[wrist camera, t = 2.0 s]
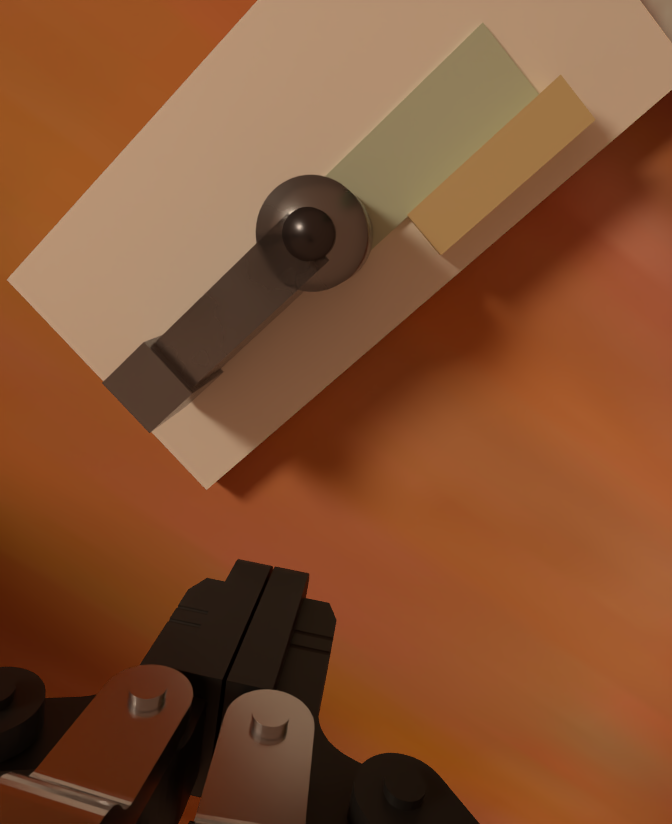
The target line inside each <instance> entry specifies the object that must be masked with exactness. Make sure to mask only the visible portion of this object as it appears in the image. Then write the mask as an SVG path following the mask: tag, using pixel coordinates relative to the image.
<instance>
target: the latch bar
mask: <svg viewBox="0 0 672 824" xmlns="http://www.w3.org/2000/svg"><path fill="white" fill-rule="evenodd" d="M372 243H373V227H372V222H371V218H370V216H369V213H368V211H367V209H366V208H365V206H364V205H363V203H362V202H361V201H360V200H359V199H358V198H357V197H356V196H355V195H354V194H353V193H352V192H351V191H350V190H348V189H347V188H346V187H345V186H343V185H342V184H341V183H339V182H337V181H336V180H333V179H331V178H329V177H325V176H321V175H301V176H297V177H294V178H291V179H289V180H287V181H285V182H283V183H281V184H280V185H278V186H277V187H276V188H275V189H274V190H273V191H272V192H271V193H270V194H269V195H268V197H267V198H266V200H265V201H264V203H263V205H262V207H261V209H260V211H259V214H258V218H257V222H256V244H255V245H254V246H253V247H252V248H251V249H250V250H249V251H248V252H247V253H246V254H245V255H244V256H243V257H242V258H241V259H240V260H239V261H238V262H237V263H236V264H235V265H234V266H233V267H232V268H231V269H230V270H228V271H227V272H226V273H225V274H224V275H223V276H222V277H221V278H220V279H219V280H218V281H217V282H216V283H215V284H214V285H213V286H212V287H211V288H210V289H209V290H208V291H207V292H206V293H205V294H204V295H203V296H202V297H201V298H200V299H199V300H198V301H197V302H196V303H195V304H194V305H193V306H192V307H191V308H190V309H189V310H188V311H187V312H185V313H184V314H183V315H182V316H181V317H180V318H179V319H178V320H177V321H176V322H175V323H174V324H173V325H172V326H171V327H170V328H169V329H168V330H167V331H166V332H165V333H164V334H163V335H161V336H158V337H156V338H153V339H150V340H147V341H145V342H143V343H142V344H141V345H140V346H139V347H138V348H137V349H136V350H135V351H134V352H133V353H132V354H131V355H130V356H129V357H128V358H127V359H126V360H125V361H124V362H123V363H122V364H121V365H120V366H119V367H118V368H117V369H116V370H115V371H114V372H113V373H112V374H111V375H110V376H109V377H107V378H106V379H105V380H104V381H103V382H102V383H103V384H104V386H105V387H106V388H107V389H108V390H109V391H110V392H111V393H112V394H113V395H114V396H115V397H116V398H117V399H118V400H119V401H120V402H121V403H122V404H123V405H124V407H125V408H126V409H127V410H128V411H129V412H130V413H131V414H132V415H133V416H134V417H135V418H136V419H137V420H138V421H139V422H140V423H141V424H142V425H143V427H144V428H145V429H146V430H147V431H148V432H149V433H150V432H152V431H153V430H154V429H156V428H157V427H159V426H160V425H161V424H163V423H164V422H165V421H167V420H168V419H170V418H171V417H172V416H174V415H175V414H176V413H178V412H179V411H181V410H182V409H183V408H185V407H186V406H187V405H188V404H190V403H191V402H192V401H193V400H194V399H195V398H196V397H197V396H198V395H199V394H200V393H201V392H203V391H204V390H205V389H206V388H207V387H208V386H209V385H210V384H211V383H212V382H213V381H214V380H216V379H217V378H218V377H219V376H220V375H221V374H222V373H223V371H222V370H221V368H222V367H223V366H224V365H225V364H226V363H227V362H228V361H229V360H230V359H232V358H233V357H234V356H235V355H236V354H237V353H238V352H239V351H240V350H241V349H242V348H243V347H245V346H246V345H247V344H248V343H249V342H250V341H251V340H252V339H253V338H254V337H255V336H256V335H258V334H259V333H260V332H261V331H262V330H263V329H264V328H265V327H266V326H267V325H268V324H269V323H271V322H272V321H273V320H274V319H275V318H276V317H277V316H278V315H279V314H280V313H281V312H282V311H284V310H285V309H286V308H287V307H288V306H289V305H290V304H291V303H292V302H293V301H294V300H295V299H297V298H298V297H299V296H300V295H301V294H302V293H303V292H304V291H306V292H318V291H324V290H327V289H330V288H333V287H335V286H337V285H339V284H341V283H342V282H344V281H346V280H348V279H349V278H351V277H352V276H354V275H355V274H356V273H357V272H358V271H359V270H360V269H361V268H362V266H363V265H364V264H365V262H366V260H367V259H368V256H369V254H370V251H371V248H372Z"/></svg>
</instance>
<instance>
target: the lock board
mask: <svg viewBox="0 0 672 824" xmlns="http://www.w3.org/2000/svg"><path fill="white" fill-rule="evenodd" d="M671 90H672V43H671V41H670V40H669V38H668V37H667V36H666V34H665V33H664V32H663V30H662V29H661V28H660V26H659V25H658V24H657V22H656V21H655V20H654V18H653V17H652V16H651V14H650V13H649V12H648V10H647V9H646V7H645V6H644V5H643V3H642V2H641V1H640V0H257V2H256V3H255V4H254V5H253V6H252V7H251V8H250V9H249V10H248V12H247V13H246V14H245V15H244V16H243V17H242V18H241V19H240V21H239V22H238V23H237V24H236V25H235V26H234V27H233V28H232V29H231V31H230V32H229V33H228V34H227V35H226V36H225V37H224V38H223V39H222V41H221V42H220V43H219V44H218V45H217V46H216V47H215V48H214V49H213V51H212V52H211V53H210V54H209V55H208V56H207V57H206V58H205V60H204V61H203V62H202V63H201V64H200V65H199V66H198V67H197V68H196V70H195V71H194V72H193V73H192V74H191V75H190V76H189V77H188V78H187V80H186V81H185V82H184V83H183V84H182V85H181V86H180V87H179V88H178V90H177V91H176V92H175V93H174V94H173V95H172V96H171V97H170V99H169V100H168V101H167V102H166V103H165V104H164V105H163V106H162V107H161V109H160V110H159V111H158V112H157V113H156V114H155V115H154V116H153V117H152V119H151V120H150V121H149V122H148V123H147V124H146V125H145V126H144V127H143V129H142V130H141V131H140V132H139V133H138V134H137V135H136V136H135V138H134V139H133V140H132V141H131V142H130V143H129V144H128V145H127V146H126V148H125V149H124V150H123V151H122V152H121V153H120V154H119V155H118V156H117V158H116V159H115V160H114V161H113V162H112V163H111V164H110V165H109V167H108V168H107V169H106V170H105V171H104V172H103V173H102V174H101V175H100V177H99V178H98V179H97V180H96V181H95V182H94V183H93V184H92V185H91V187H90V188H89V189H88V190H87V191H86V192H85V193H84V194H83V195H82V197H81V198H80V199H79V200H78V201H77V202H76V203H75V204H74V206H73V207H72V208H71V209H70V210H69V211H68V212H67V213H66V214H65V216H64V217H63V218H62V219H61V220H60V221H59V222H58V223H57V224H56V226H55V227H54V228H53V229H52V230H51V231H50V232H49V233H48V234H47V236H46V237H45V238H44V239H43V240H42V241H41V242H40V243H39V245H38V246H37V247H36V248H35V249H34V250H33V251H32V252H31V253H30V255H29V256H28V257H27V258H26V259H25V260H24V261H23V262H22V263H21V265H20V266H19V267H18V268H17V269H16V270H15V271H14V272H13V273H12V275H11V276H10V277H9V278H8V279H7V280H8V281H9V282H10V284H11V285H12V286H13V287H14V288H15V289H16V290H17V291H18V292H19V293H20V294H21V295H22V296H23V297H24V298H25V299H26V300H27V301H28V302H29V304H30V305H31V306H32V307H33V308H34V309H35V310H36V311H37V312H38V313H39V314H40V315H41V316H42V317H43V318H44V319H45V320H46V321H47V322H48V324H49V325H50V326H51V327H52V328H53V329H54V330H55V331H56V332H57V333H58V334H59V335H60V336H61V337H62V338H63V339H64V340H65V341H66V342H67V344H68V345H69V346H70V347H71V348H72V349H73V350H74V351H75V352H76V353H77V354H78V355H79V356H80V357H81V358H82V359H83V360H84V361H85V362H86V364H87V365H88V366H89V367H90V368H91V369H92V370H93V371H94V372H95V373H96V374H97V375H98V376H99V377H100V378H101V379H102V380H103V381H104V380H105V379H106V378H107V377H109V376H110V375H111V374H112V373H113V372H114V371H115V370H116V369H117V368H118V367H119V366H120V365H121V364H122V363H123V362H124V361H125V360H126V359H127V358H128V357H129V356H130V355H131V354H132V353H133V352H134V351H135V350H136V349H137V348H138V347H139V346H140V345H141V344H142V343H143V342H145V341H147V340H150V339H153V338H156V337H158V336H161V335H163V334H164V333H165V332H166V331H167V330H168V329H169V328H170V327H171V326H172V325H173V324H174V323H175V322H176V321H177V320H178V319H179V318H180V317H181V316H182V315H183V314H184V313H185V312H187V311H188V310H189V309H190V308H191V307H192V306H193V305H194V304H195V303H196V302H197V301H198V300H199V299H200V298H201V297H202V296H203V295H204V294H205V293H206V292H207V291H208V290H209V289H210V288H211V287H212V286H213V285H214V284H215V283H216V282H217V281H218V280H219V279H220V278H221V277H222V276H223V275H224V274H225V273H226V272H227V271H228V270H230V269H231V268H232V267H233V266H234V265H235V264H236V263H237V262H238V261H239V260H240V259H241V258H242V257H243V256H244V255H245V254H246V253H247V252H248V251H249V250H250V249H251V248H252V247H253V246H254V245H255V244H256V222H257V218H258V214H259V211H260V209H261V207H262V205H263V203H264V201H265V200H266V198H267V197H268V195H269V194H270V193H271V192H272V191H273V190H274V189H275V188H276V187H277V186H278V185H280V184H281V183H283V182H285V181H287V180H289V179H291V178H294V177H297V176H301V175H321V176H325V177H329V178H331V179H333V180H336V181H337V182H339V183H341V184H342V185H343V186H345V187H346V188H347V189H348V190H350V191H351V192H352V193H353V194H354V195H355V196H356V197H357V198H358V199H359V200H360V201H361V202H362V203H363V205H364V206H365V208H366V209H367V211H368V213H369V216H370V218H371V222H372V227H373V243H372V248H371V251H370V254H369V256H368V259H367V260H366V262H365V264H364V265H363V266H362V268H361V269H360V270H359V271H358V272H357V273H356V274H355V275H354V276H352V277H351V278H349V279H348V280H346V281H344V282H342V283H341V284H339V285H337V286H335V287H333V288H330V289H327V290H324V291H318V292H306V291H304V292H303V293H302V294H301V295H300V296H299V297H298V298H297V299H295V300H294V301H293V302H292V303H291V304H290V305H289V306H288V307H287V308H286V309H285V310H284V311H282V312H281V313H280V314H279V315H278V316H277V317H276V318H275V319H274V320H273V321H272V322H271V323H269V324H268V325H267V326H266V327H265V328H264V329H263V330H262V331H261V332H260V333H259V334H258V335H256V336H255V337H254V338H253V339H252V340H251V341H250V342H249V343H248V344H247V345H246V346H245V347H243V348H242V349H241V350H240V351H239V352H238V353H237V354H236V355H235V356H234V357H233V358H232V359H230V360H229V361H228V362H227V363H226V364H225V365H224V366H223V367H222V368H221V370H222V371H223V373H222V374H221V375H220V376H219V377H218V378H217V379H216V380H214V381H213V382H212V383H211V384H210V385H209V386H208V387H207V388H206V389H205V390H204V391H203V392H201V393H200V394H199V395H198V396H197V397H196V398H195V399H194V400H193V401H192V402H191V403H190V404H188V405H187V406H186V407H185V408H183V409H182V410H181V411H179V412H178V413H176V414H175V415H174V416H172V417H171V418H170V419H168V420H167V421H165V422H164V423H163V424H161V425H160V426H159V427H157V428H156V429H154V430H153V431H152V433H153V434H154V435H155V436H156V437H157V438H158V439H159V440H160V441H161V442H162V444H163V445H164V446H165V447H166V448H167V449H168V450H169V451H170V452H171V453H172V454H173V455H174V456H175V457H176V458H177V459H178V460H179V461H180V462H181V464H182V465H183V466H184V467H185V468H186V469H187V470H188V471H189V472H190V473H191V474H192V475H193V476H194V477H195V478H196V479H197V480H198V481H199V482H200V484H201V485H202V486H203V487H204V488H205V489H206V490H207V489H208V488H209V487H211V486H212V485H213V484H214V483H215V482H216V481H217V480H219V479H220V478H221V477H222V476H223V475H224V474H226V473H227V472H228V471H229V470H230V469H231V468H233V467H234V466H235V465H236V464H237V463H238V462H240V461H241V460H242V459H243V458H244V457H245V456H247V455H248V454H249V453H250V452H251V451H252V450H254V449H255V448H256V447H257V446H258V445H259V444H260V443H262V442H263V441H264V440H265V439H266V438H267V437H269V436H270V435H271V434H272V433H273V432H274V431H276V430H277V429H278V428H279V427H280V426H281V425H283V424H284V423H285V422H286V421H287V420H288V419H290V418H291V417H292V416H293V415H294V414H295V413H297V412H298V411H299V410H300V409H301V408H302V407H303V406H305V405H306V404H307V403H308V402H309V401H310V400H312V399H313V398H314V397H315V396H316V395H317V394H319V393H320V392H321V391H322V390H323V389H324V388H326V387H327V386H328V385H329V384H330V383H331V382H333V381H334V380H335V379H336V378H337V377H338V376H340V375H341V374H342V373H343V372H344V371H345V370H347V369H348V368H349V367H350V366H351V365H352V364H353V363H355V362H356V361H357V360H358V359H359V358H360V357H362V356H363V355H364V354H365V353H366V352H367V351H369V350H370V349H371V348H372V347H373V346H374V345H376V344H377V343H378V342H379V341H380V340H381V339H383V338H384V337H385V336H386V335H387V334H388V333H390V332H391V331H392V330H393V329H394V328H395V327H396V326H398V325H399V324H400V323H401V322H402V321H403V320H405V319H406V318H407V317H408V316H409V315H410V314H412V313H413V312H414V311H415V310H416V309H417V308H419V307H420V306H421V305H422V304H423V303H424V302H426V301H427V300H428V299H429V298H430V297H431V296H433V295H434V294H435V293H436V292H437V291H438V290H439V289H441V288H442V287H443V286H444V285H445V284H446V283H448V282H449V281H450V280H451V279H452V278H453V277H455V276H456V275H457V274H458V273H459V272H460V271H462V270H463V269H464V268H465V267H466V266H467V265H469V264H470V263H471V262H472V261H473V260H474V259H476V258H477V257H478V256H479V255H480V254H481V253H482V252H484V251H485V250H486V249H487V248H488V247H489V246H491V245H492V244H493V243H494V242H495V241H496V240H498V239H499V238H500V237H501V236H502V235H503V234H505V233H506V232H507V231H508V230H509V229H510V228H512V227H513V226H514V225H515V224H516V223H517V222H519V221H520V220H521V219H522V218H523V217H524V216H525V215H527V214H528V213H529V212H530V211H531V210H532V209H534V208H535V207H536V206H537V205H538V204H539V203H541V202H542V201H543V200H544V199H545V198H546V197H548V196H549V195H550V194H551V193H552V192H553V191H555V190H556V189H557V188H558V187H559V186H560V185H562V184H563V183H564V182H565V181H566V180H567V179H569V178H570V177H571V176H572V175H573V174H574V173H575V172H577V171H578V170H579V169H580V168H581V167H582V166H584V165H585V164H586V163H587V162H588V161H589V160H591V159H592V158H593V157H594V156H595V155H596V154H598V153H599V152H600V151H601V150H602V149H603V148H605V147H606V146H607V145H608V144H609V143H610V142H612V141H613V140H614V139H615V138H616V137H617V136H618V135H620V134H621V133H622V132H623V131H624V130H625V129H627V128H628V127H629V126H630V125H631V124H632V123H634V122H635V121H636V120H637V119H638V118H639V117H641V116H642V115H643V114H644V113H645V112H646V111H648V110H649V109H650V108H651V107H652V106H653V105H655V104H656V103H657V102H658V101H659V100H660V99H661V98H663V97H664V96H665V95H666V94H667V93H668V92H670V91H671Z"/></svg>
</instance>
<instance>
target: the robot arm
mask: <svg viewBox="0 0 672 824" xmlns="http://www.w3.org/2000/svg"><path fill="white" fill-rule="evenodd" d="M308 582H309V573H304V572H300V571H295V570H290V569H285V568H280V567H274V569H273V566H269V565H265V564H260V563H255V562H250V561H245V560H240V559H238V560H237V561H236V563H235V565H234V566H233V568H232V570H231V572H230V574H229V575H228V577H227V579H226V581H225V582H224V581H219V580H215V579H210V578H206V579H205V580H203V581H201V582H200V583H198V584H196V585H195V586H193V587H192V588H190V589H188V591H187V592H186V594H185V596H184V597H183V599H182V600H181V602H180V603H179V605H178V608H176V610H175V611H174V613H173V614H172V616H171V617H170V620H169V622H167V624H166V625H165V627H164V628H163V630H162V631H161V633H160V634H159V636H158V638H157V639H156V641H155V642H154V644H153V645H152V647H151V648H150V650H149V652H148V653H147V655H146V656H145V658H144V659H143V661H142V662H141V664H140V666H135V667H131V668H128V669H126V670H123V671H121V672H119V673H118V674H116V675H115V676H113V677H112V678H111V679H110V680H109V681H108V682H107V683H106V684H105V685H104V686H103V688H102V689H101V690H100V691H99V693H98V694H97V695H91V696H84V697H63V698H45V685H44V683H43V681H42V680H41V679H40V677H39V676H37V675H36V674H35V673H33V672H31V671H29V670H26V669H22V668H17V667H0V824H178V822H179V821H180V819H181V817H182V814H183V812H184V809H185V807H186V804H187V802H188V799H189V797H190V795H193V796H197V797H201V800H200V803H199V807H198V810H197V814H196V817H195V820H194V822H193V821H190V822H189V823H188V824H479V823H478V821H477V820H476V819H475V818H474V817H473V815H472V814H471V813H470V812H469V811H468V809H467V808H466V807H465V806H464V805H463V803H462V802H461V801H460V800H459V799H458V797H457V796H456V795H455V794H454V793H453V791H452V790H451V789H450V788H449V787H448V785H447V784H446V783H445V782H444V781H443V779H442V778H441V777H440V776H439V775H438V774H437V773H436V772H435V771H434V770H433V769H432V768H431V767H429V766H428V765H427V764H425V763H423V762H422V761H420V760H418V759H416V758H413V757H411V756H407V755H404V754H398V753H384V754H379V755H376V756H373V757H371V758H369V759H368V760H366V761H365V762H364V763H363V764H361V763H359V762H357V761H355V760H353V759H352V758H350V757H348V756H346V755H345V754H343V753H341V752H340V751H339V750H338V749H336V748H335V747H334V746H333V745H332V744H331V743H330V742H329V741H328V739H327V738H326V737H325V735H324V733H323V731H322V729H321V727H320V724H319V718H318V716H319V711H320V706H321V701H322V696H323V690H324V685H325V680H326V675H327V669H328V664H329V658H330V653H331V647H332V642H333V636H334V631H335V625H336V618H335V616H334V613H333V611H332V608H331V606H330V604H329V603H327V602H322V601H317V600H312V599H307V598H306V594H307V588H308Z"/></svg>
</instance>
